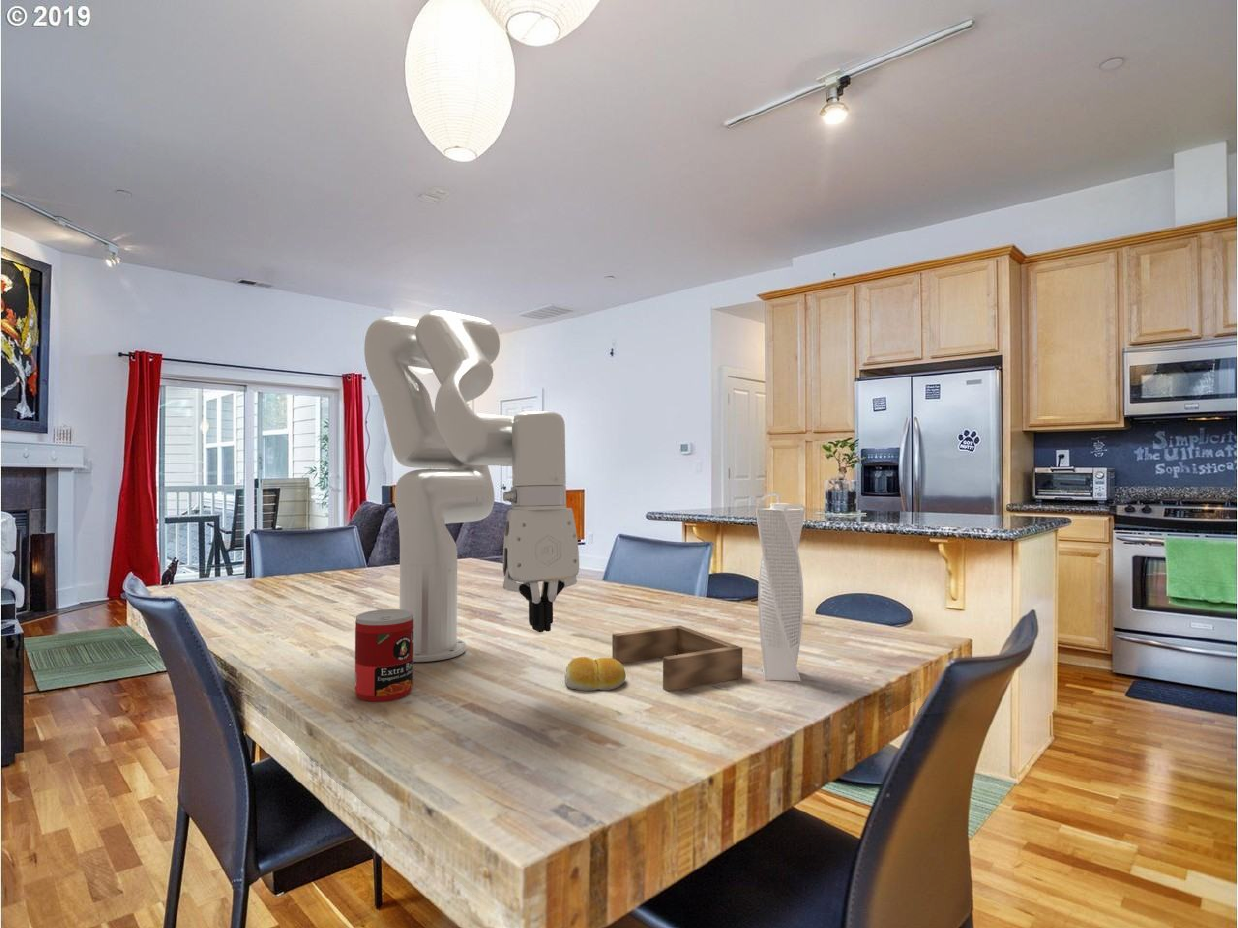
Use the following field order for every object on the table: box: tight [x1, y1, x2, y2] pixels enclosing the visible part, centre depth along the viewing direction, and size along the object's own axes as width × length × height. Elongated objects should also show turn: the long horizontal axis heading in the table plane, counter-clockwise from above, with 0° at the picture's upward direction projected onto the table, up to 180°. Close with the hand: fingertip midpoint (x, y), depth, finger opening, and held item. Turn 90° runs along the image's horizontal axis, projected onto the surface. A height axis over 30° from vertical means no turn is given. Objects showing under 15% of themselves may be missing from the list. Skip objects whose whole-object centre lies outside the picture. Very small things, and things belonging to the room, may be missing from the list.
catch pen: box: [611, 625, 743, 692], centre depth 102 cm, size 13×17×4 cm
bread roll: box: [564, 656, 627, 692], centre depth 96 cm, size 8×9×4 cm
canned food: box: [354, 608, 414, 703], centre depth 91 cm, size 8×8×11 cm
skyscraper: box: [755, 492, 806, 682], centre depth 100 cm, size 8×8×28 cm
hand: (541, 629), depth 91 cm, fingers closed
